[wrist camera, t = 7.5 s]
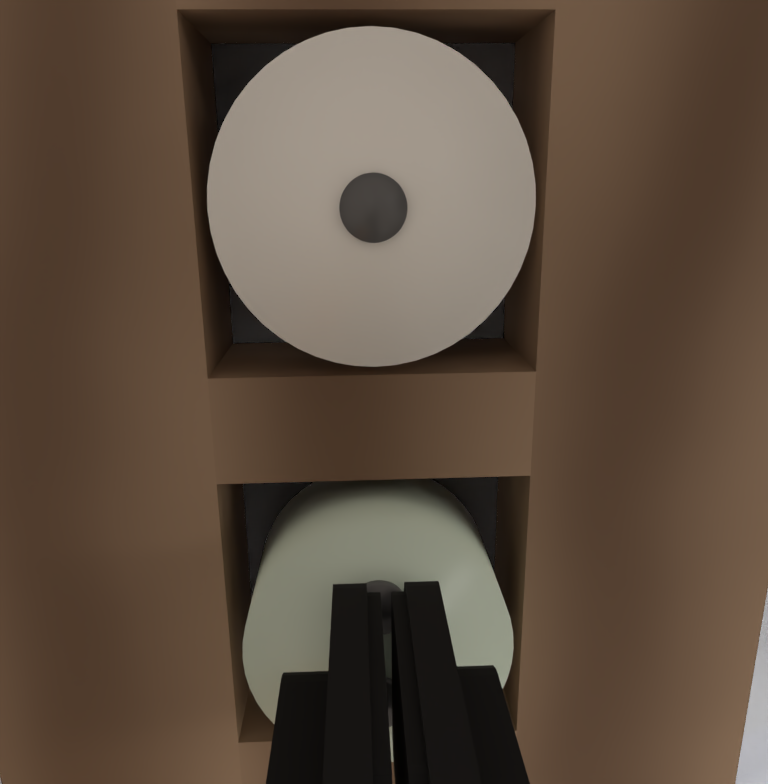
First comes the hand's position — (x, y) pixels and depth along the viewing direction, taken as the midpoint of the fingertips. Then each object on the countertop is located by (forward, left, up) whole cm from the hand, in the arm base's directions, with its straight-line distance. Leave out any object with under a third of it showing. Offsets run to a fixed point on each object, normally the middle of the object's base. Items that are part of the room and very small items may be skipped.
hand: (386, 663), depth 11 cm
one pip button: (0, -7, -3) cm, 8 cm away
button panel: (0, 0, -4) cm, 4 cm away
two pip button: (0, 0, -3) cm, 3 cm away
